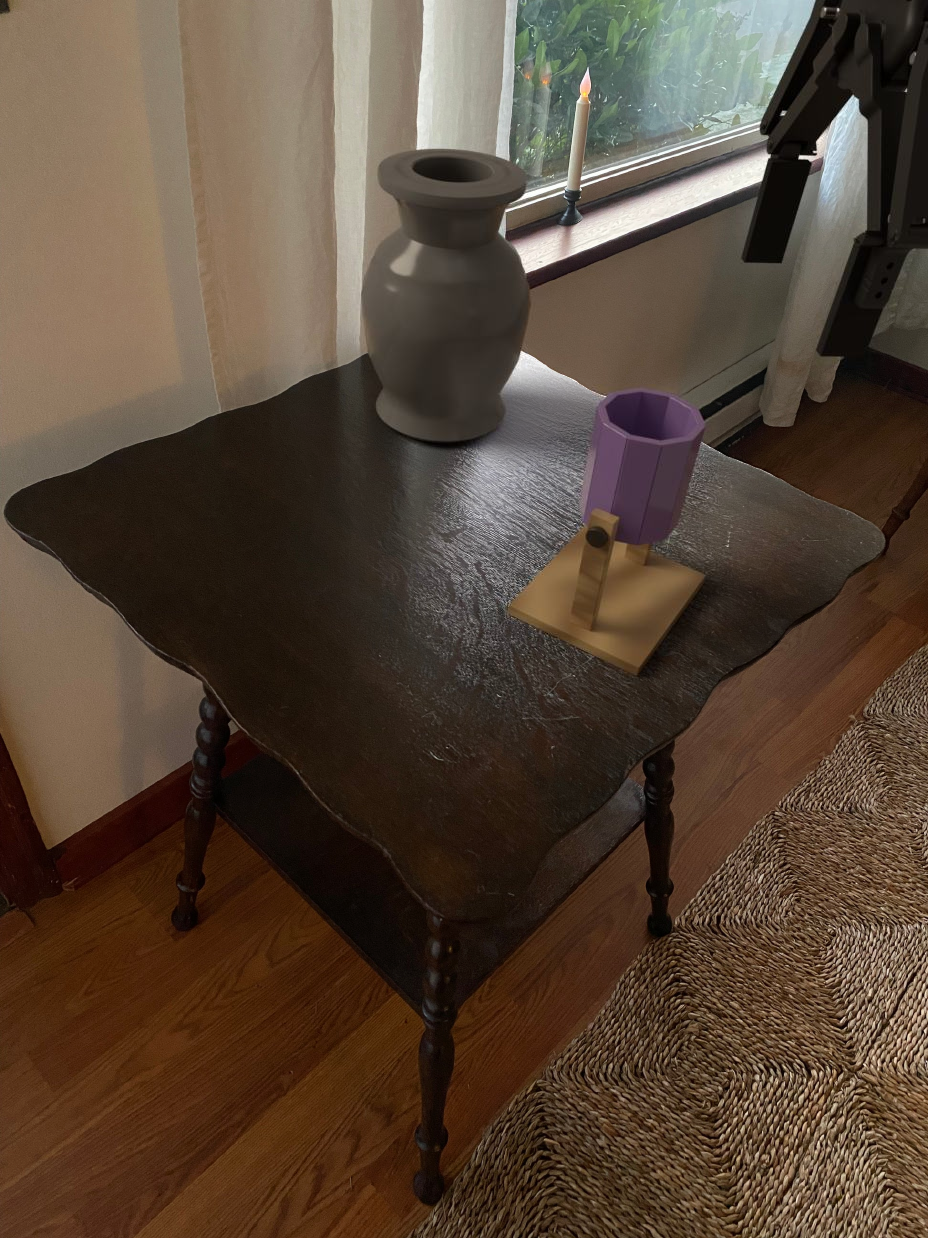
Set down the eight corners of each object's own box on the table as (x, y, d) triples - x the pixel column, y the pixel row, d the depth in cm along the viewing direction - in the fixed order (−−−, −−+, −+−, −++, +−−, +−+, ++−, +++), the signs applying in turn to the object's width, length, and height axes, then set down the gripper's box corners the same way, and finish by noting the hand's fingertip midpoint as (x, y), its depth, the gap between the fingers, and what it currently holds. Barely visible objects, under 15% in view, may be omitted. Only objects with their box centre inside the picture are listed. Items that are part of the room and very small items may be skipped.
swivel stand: (703, 583, 80) (740, 470, 71) (636, 676, 71) (670, 559, 63) (584, 532, 84) (606, 419, 76) (507, 613, 75) (522, 497, 67)
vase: (348, 383, 101) (341, 142, 84) (488, 369, 106) (509, 137, 88) (384, 464, 90) (384, 205, 73) (539, 445, 94) (574, 196, 77)
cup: (693, 505, 73) (722, 407, 67) (647, 562, 67) (674, 460, 61) (610, 472, 75) (630, 374, 69) (559, 523, 70) (576, 422, 64)
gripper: (771, -150, 52) (686, 228, 66) (1003, -101, 34) (816, 403, 48) (894, -140, 52) (783, 231, 67) (1183, -89, 34) (946, 403, 49)
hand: (797, 303), depth 58 cm, fingers open, 13 cm apart
